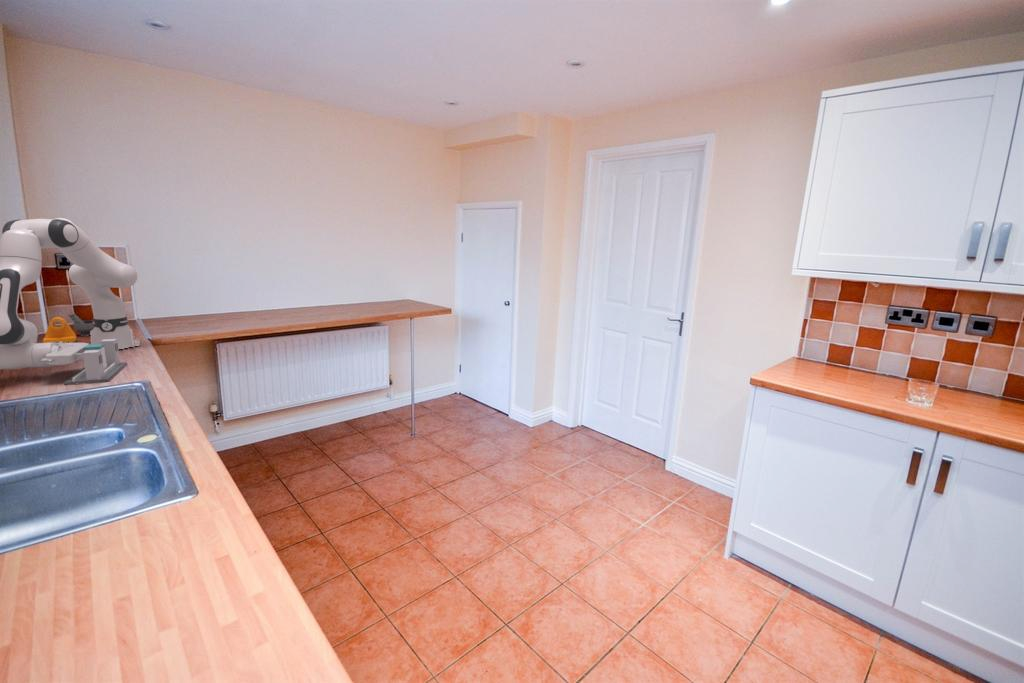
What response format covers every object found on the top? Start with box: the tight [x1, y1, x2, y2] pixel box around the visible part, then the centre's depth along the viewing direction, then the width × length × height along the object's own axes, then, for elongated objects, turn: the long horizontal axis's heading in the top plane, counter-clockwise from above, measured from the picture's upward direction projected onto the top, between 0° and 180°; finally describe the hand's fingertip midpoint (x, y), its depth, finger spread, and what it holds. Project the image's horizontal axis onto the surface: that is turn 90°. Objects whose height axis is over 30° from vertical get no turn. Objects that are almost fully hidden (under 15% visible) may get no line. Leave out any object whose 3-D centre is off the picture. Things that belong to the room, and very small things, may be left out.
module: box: [84, 344, 107, 371], centre depth 174 cm, size 5×5×10 cm
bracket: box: [42, 316, 77, 343], centre depth 217 cm, size 11×7×12 cm, turn 128°
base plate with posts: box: [63, 339, 128, 386], centre depth 174 cm, size 25×12×11 cm, turn 27°
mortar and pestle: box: [67, 312, 94, 337], centre depth 234 cm, size 11×9×12 cm
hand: (97, 352), depth 174 cm, fingers open, 8 cm apart
